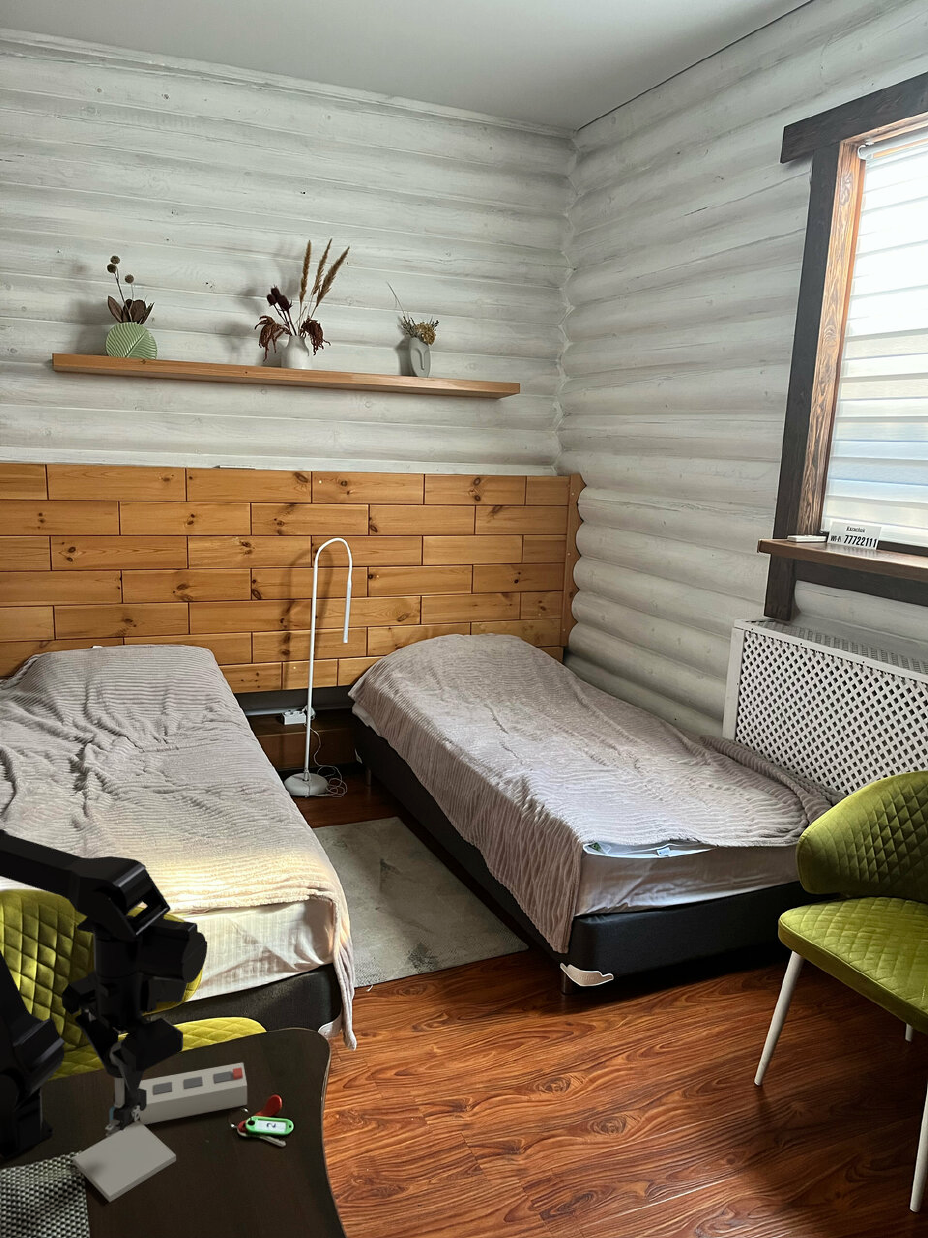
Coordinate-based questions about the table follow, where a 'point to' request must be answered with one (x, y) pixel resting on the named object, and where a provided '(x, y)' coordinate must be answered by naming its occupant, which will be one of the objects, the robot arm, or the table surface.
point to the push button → (122, 1096)
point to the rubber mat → (124, 1160)
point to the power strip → (194, 1093)
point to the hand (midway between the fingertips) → (122, 1079)
